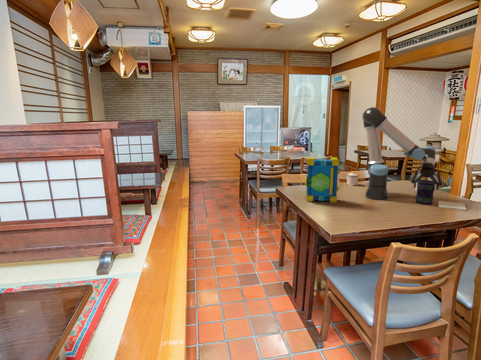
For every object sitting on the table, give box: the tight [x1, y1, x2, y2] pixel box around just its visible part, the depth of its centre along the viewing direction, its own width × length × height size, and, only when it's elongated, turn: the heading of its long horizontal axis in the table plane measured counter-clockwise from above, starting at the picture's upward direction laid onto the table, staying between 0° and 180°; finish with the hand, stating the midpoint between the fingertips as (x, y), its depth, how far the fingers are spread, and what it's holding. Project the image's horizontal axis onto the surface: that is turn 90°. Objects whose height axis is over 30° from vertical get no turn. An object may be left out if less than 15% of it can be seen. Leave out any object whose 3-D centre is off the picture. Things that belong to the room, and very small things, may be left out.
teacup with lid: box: [345, 171, 359, 186], centre depth 245 cm, size 12×9×12 cm
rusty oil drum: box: [414, 179, 435, 206], centre depth 187 cm, size 10×10×15 cm
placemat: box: [437, 200, 467, 212], centre depth 180 cm, size 14×14×1 cm
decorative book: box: [304, 156, 341, 203], centre depth 195 cm, size 14×23×30 cm, turn 78°
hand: (425, 192), depth 184 cm, fingers closed on rusty oil drum, 10 cm apart
